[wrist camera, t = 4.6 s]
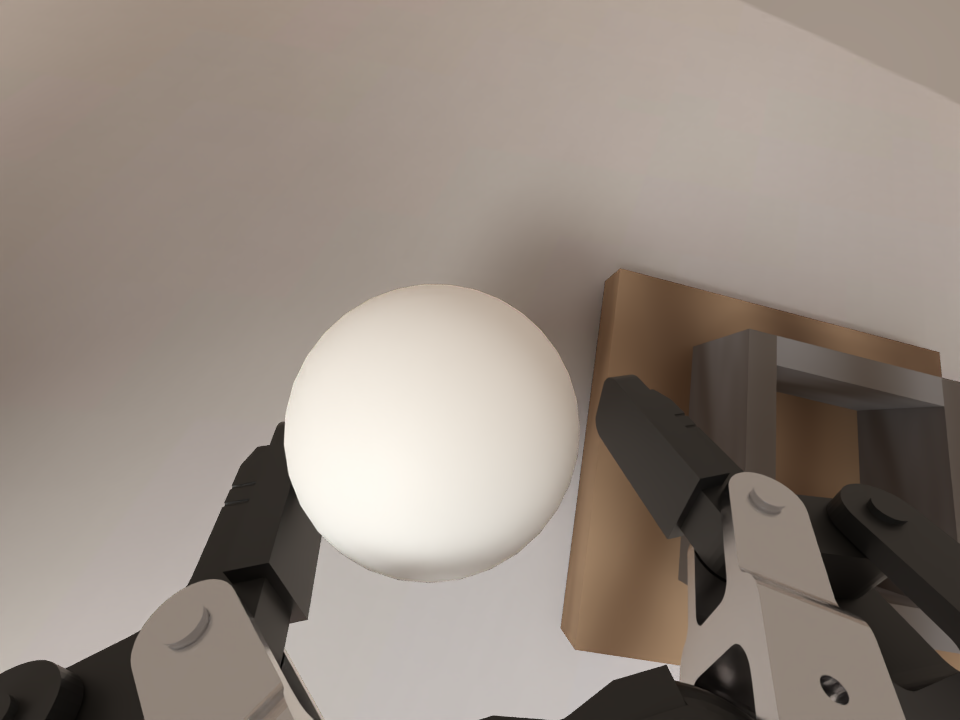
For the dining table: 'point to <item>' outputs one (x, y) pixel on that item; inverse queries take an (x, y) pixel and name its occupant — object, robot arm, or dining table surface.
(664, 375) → the bulb holder
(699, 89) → the dining table surface
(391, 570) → the lightbulb
